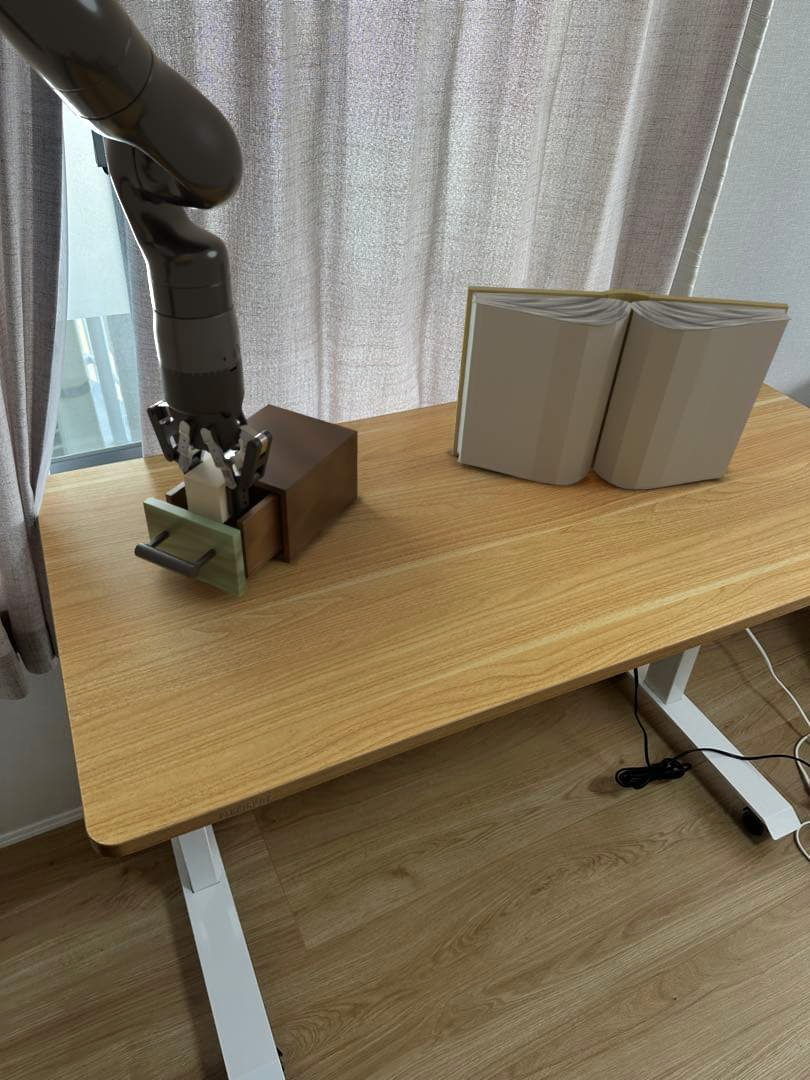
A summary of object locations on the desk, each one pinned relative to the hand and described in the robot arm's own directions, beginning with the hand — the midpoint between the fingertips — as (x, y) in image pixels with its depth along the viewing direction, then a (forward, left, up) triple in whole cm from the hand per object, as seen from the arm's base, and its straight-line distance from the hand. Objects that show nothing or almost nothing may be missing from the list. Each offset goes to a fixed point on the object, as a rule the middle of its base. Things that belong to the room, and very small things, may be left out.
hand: (218, 504), depth 84 cm
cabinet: (+7, +8, -8) cm, 13 cm away
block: (0, 0, 0) cm, 0 cm away
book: (+48, +11, -8) cm, 50 cm away
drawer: (0, 0, -7) cm, 7 cm away
